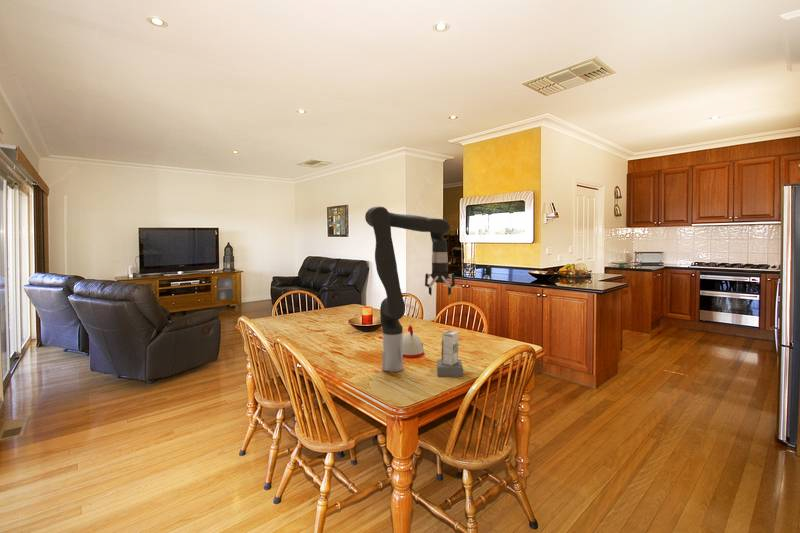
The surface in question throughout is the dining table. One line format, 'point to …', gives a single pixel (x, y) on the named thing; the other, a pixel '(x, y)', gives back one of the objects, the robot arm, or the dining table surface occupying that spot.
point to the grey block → (449, 369)
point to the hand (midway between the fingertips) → (439, 295)
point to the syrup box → (449, 347)
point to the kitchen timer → (412, 345)
